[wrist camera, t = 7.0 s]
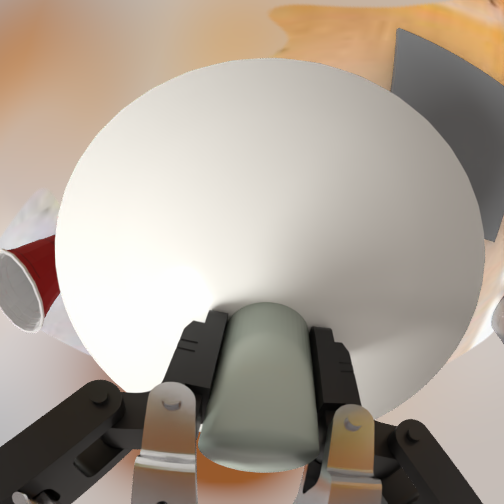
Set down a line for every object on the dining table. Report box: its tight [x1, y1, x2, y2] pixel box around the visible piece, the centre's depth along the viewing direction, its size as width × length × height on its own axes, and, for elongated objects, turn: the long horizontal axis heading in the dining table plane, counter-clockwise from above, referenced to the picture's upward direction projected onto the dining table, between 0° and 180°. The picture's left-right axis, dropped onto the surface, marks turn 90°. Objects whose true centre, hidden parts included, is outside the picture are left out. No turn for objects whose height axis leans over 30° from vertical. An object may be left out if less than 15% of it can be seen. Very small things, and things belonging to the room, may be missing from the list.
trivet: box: [391, 28, 504, 242], centre depth 22 cm, size 20×20×1 cm
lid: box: [55, 58, 485, 472], centre depth 9 cm, size 19×19×6 cm
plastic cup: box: [0, 235, 60, 334], centre depth 28 cm, size 11×11×12 cm
